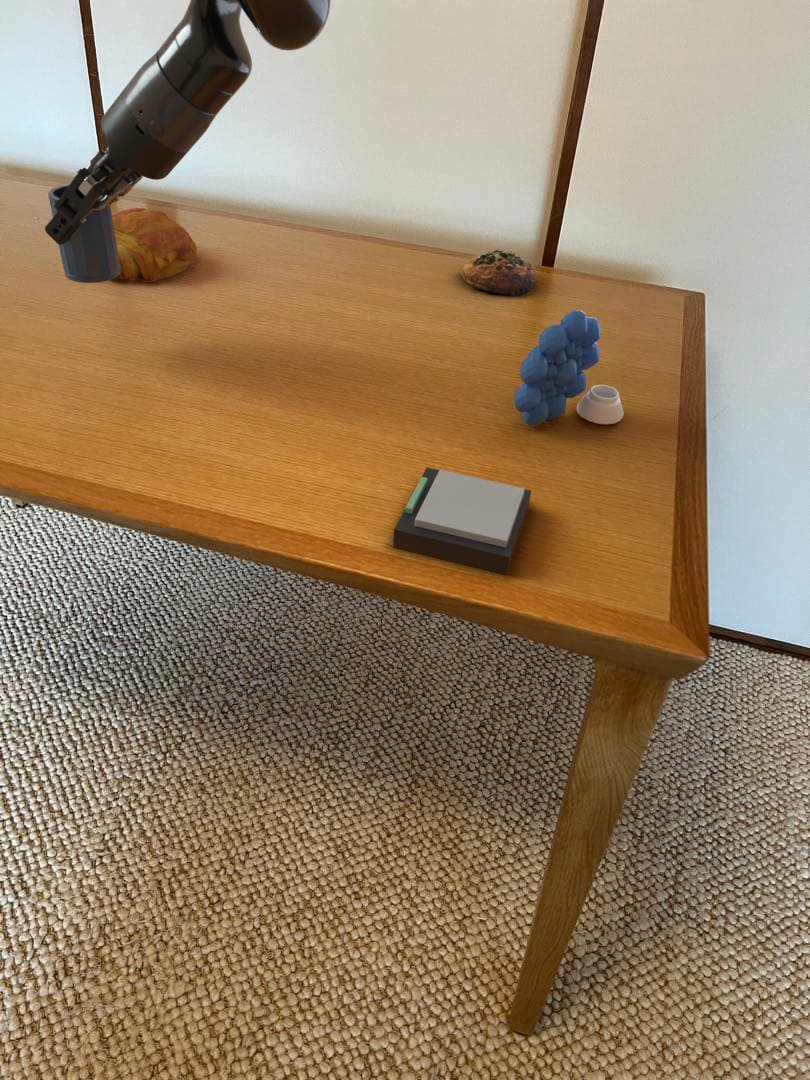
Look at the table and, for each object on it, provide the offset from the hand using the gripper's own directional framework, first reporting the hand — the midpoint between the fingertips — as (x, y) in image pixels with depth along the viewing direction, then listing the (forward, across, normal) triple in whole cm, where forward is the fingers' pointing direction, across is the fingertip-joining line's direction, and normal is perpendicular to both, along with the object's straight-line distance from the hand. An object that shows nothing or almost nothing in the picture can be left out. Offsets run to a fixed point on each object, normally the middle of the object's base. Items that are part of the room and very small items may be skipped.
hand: (69, 226), depth 86 cm
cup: (+2, 0, +5) cm, 5 cm away
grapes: (-28, +1, +47) cm, 55 cm away
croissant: (+13, -25, +6) cm, 29 cm away
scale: (-23, +23, +43) cm, 54 cm away
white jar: (-32, 0, +51) cm, 61 cm away
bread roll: (-22, -35, +41) cm, 58 cm away
